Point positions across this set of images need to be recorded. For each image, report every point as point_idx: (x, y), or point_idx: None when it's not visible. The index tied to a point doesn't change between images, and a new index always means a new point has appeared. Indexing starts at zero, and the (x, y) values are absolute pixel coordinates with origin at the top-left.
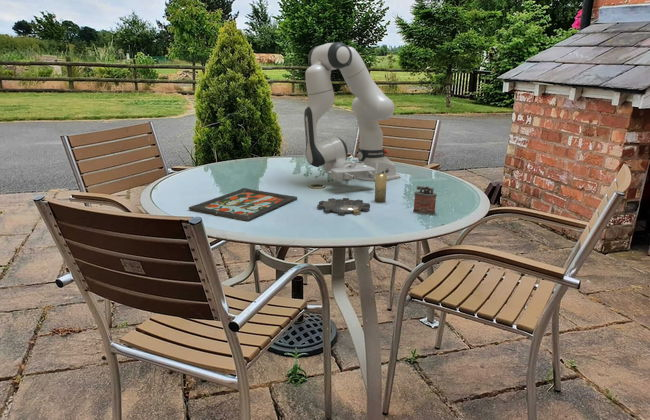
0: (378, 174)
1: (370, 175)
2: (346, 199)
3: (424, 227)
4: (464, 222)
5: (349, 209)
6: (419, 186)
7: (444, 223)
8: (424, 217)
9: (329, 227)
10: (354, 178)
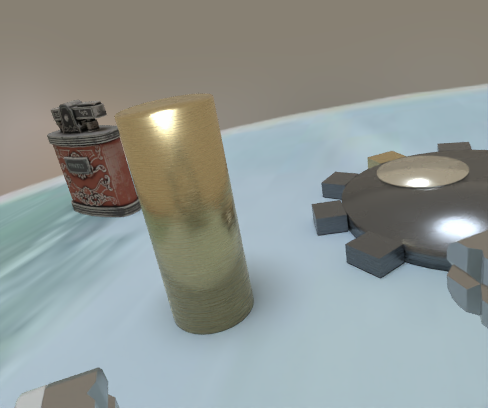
0: (190, 100)
1: (106, 396)
2: None
3: None
4: None
5: (420, 158)
6: (94, 101)
7: None
8: None
9: (466, 113)
10: (450, 281)
